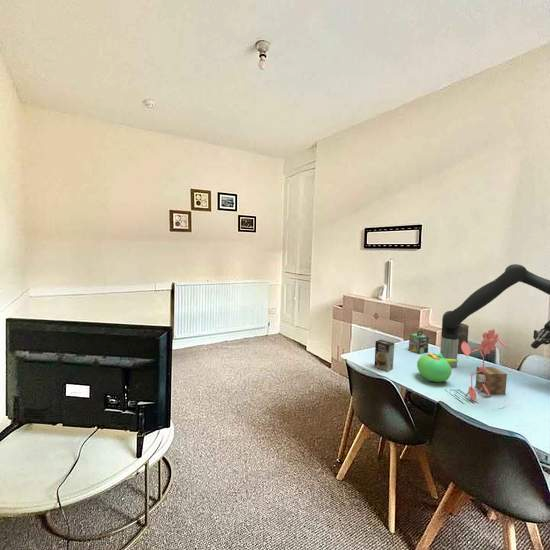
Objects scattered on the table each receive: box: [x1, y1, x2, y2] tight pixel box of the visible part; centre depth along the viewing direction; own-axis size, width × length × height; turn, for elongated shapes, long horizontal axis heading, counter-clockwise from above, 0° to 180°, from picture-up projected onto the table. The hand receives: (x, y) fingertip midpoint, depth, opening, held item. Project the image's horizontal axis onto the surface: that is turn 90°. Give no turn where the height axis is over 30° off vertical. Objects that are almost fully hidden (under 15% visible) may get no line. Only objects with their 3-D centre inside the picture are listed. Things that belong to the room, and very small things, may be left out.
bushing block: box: [474, 366, 508, 396], centre depth 160 cm, size 9×9×11 cm
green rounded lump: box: [416, 352, 459, 383], centre depth 172 cm, size 18×17×15 cm
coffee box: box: [374, 339, 395, 373], centre depth 188 cm, size 9×6×16 cm
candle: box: [457, 322, 469, 354], centre depth 216 cm, size 8×7×20 cm
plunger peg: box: [477, 374, 486, 382], centre depth 160 cm, size 12×6×6 cm, turn 92°
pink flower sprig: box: [456, 328, 508, 410], centre depth 147 cm, size 15×26×35 cm, turn 113°
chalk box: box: [408, 330, 430, 355], centre depth 218 cm, size 9×9×15 cm
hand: (533, 347), depth 162 cm, fingers closed
